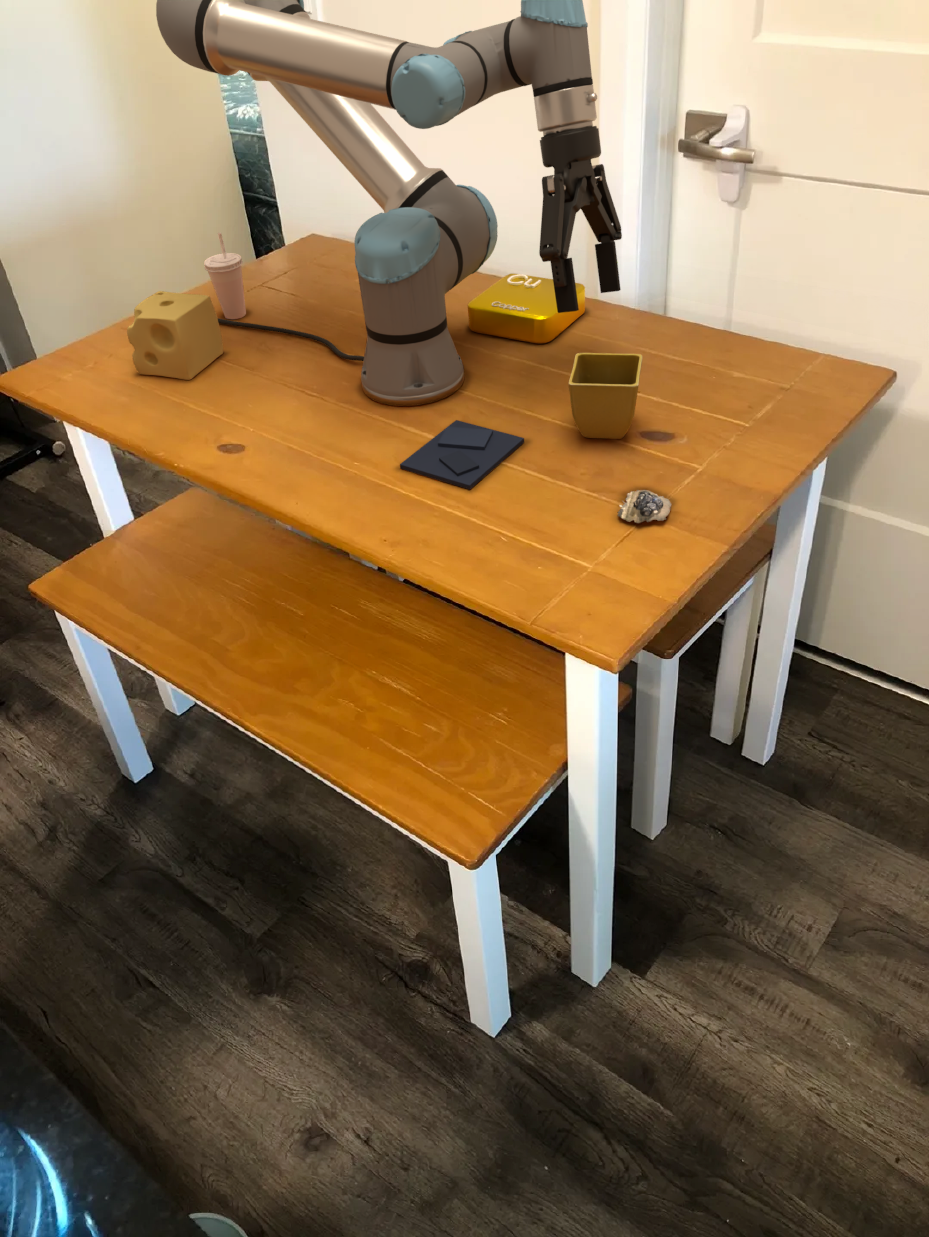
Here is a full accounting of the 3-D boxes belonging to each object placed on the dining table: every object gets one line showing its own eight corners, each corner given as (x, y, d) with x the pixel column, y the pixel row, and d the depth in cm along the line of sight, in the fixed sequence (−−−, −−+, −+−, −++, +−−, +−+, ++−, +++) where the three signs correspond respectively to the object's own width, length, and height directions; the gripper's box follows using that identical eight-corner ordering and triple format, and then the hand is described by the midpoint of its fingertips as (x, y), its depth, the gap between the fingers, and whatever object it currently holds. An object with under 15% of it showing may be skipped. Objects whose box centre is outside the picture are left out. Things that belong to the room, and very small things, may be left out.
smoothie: (250, 321, 169) (231, 239, 160) (213, 323, 169) (192, 241, 160) (256, 306, 174) (238, 225, 165) (221, 308, 174) (201, 228, 165)
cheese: (136, 375, 156) (117, 314, 150) (175, 346, 163) (159, 287, 157) (191, 382, 153) (174, 320, 146) (229, 352, 160) (214, 292, 154)
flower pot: (635, 448, 127) (638, 385, 122) (568, 446, 129) (567, 383, 123) (640, 415, 134) (643, 353, 128) (576, 413, 136) (575, 352, 130)
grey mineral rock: (620, 530, 114) (620, 516, 113) (609, 492, 120) (609, 479, 119) (678, 524, 114) (679, 511, 113) (664, 487, 120) (665, 474, 119)
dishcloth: (400, 468, 128) (399, 460, 127) (456, 424, 136) (455, 416, 135) (470, 490, 123) (469, 481, 122) (524, 442, 131) (524, 434, 130)
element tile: (464, 331, 159) (462, 302, 156) (510, 296, 169) (509, 268, 165) (546, 346, 153) (545, 317, 149) (589, 309, 162) (589, 280, 159)
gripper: (549, 130, 114) (575, 318, 122) (634, 117, 132) (650, 281, 140) (494, 142, 118) (522, 323, 126) (583, 128, 136) (602, 287, 145)
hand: (590, 301), depth 133 cm, fingers open, 13 cm apart
